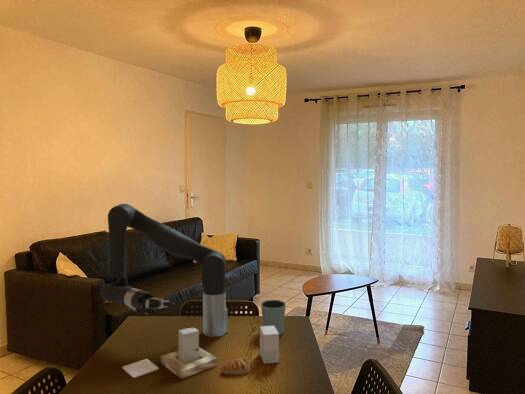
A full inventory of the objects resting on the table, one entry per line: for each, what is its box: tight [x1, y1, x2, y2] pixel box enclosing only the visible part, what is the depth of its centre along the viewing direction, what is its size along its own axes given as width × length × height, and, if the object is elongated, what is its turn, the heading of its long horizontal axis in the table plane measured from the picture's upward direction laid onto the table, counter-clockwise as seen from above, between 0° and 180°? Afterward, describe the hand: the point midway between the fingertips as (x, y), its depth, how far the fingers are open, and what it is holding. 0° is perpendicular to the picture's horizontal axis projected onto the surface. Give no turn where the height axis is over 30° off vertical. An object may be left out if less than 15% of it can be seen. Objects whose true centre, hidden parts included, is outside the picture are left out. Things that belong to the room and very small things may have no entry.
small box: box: [259, 325, 280, 365], centre depth 146 cm, size 8×6×10 cm
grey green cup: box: [260, 299, 287, 336], centre depth 169 cm, size 10×10×12 cm
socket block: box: [160, 346, 218, 380], centre depth 141 cm, size 14×14×2 cm
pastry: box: [220, 357, 251, 376], centre depth 137 cm, size 9×7×4 cm
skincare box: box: [178, 326, 200, 364], centre depth 141 cm, size 6×4×12 cm
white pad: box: [121, 358, 160, 379], centre depth 138 cm, size 9×9×1 cm
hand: (165, 309), depth 148 cm, fingers open, 8 cm apart
